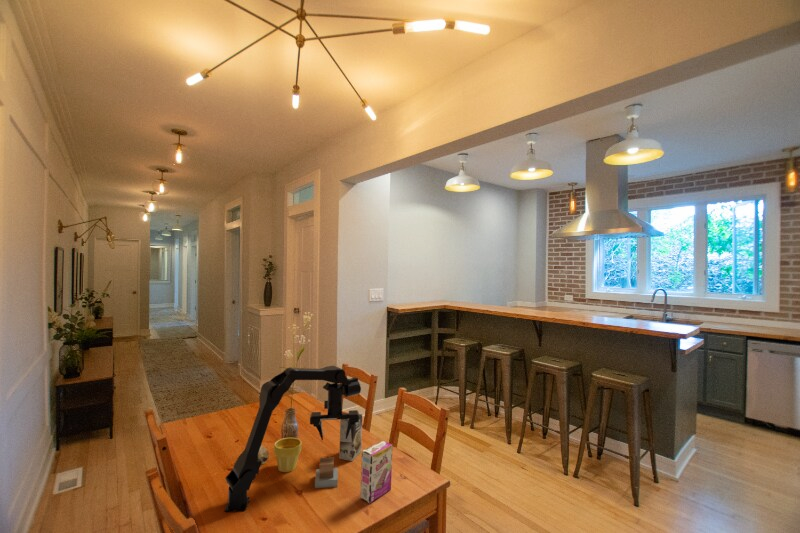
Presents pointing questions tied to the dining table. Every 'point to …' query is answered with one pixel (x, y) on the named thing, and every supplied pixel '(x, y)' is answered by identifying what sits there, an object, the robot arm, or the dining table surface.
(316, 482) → the plinth
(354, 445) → the coffee box
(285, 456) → the plant pot
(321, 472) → the walnut cube
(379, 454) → the candy bar box
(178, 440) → the dining table surface
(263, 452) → the grey rounded lump
